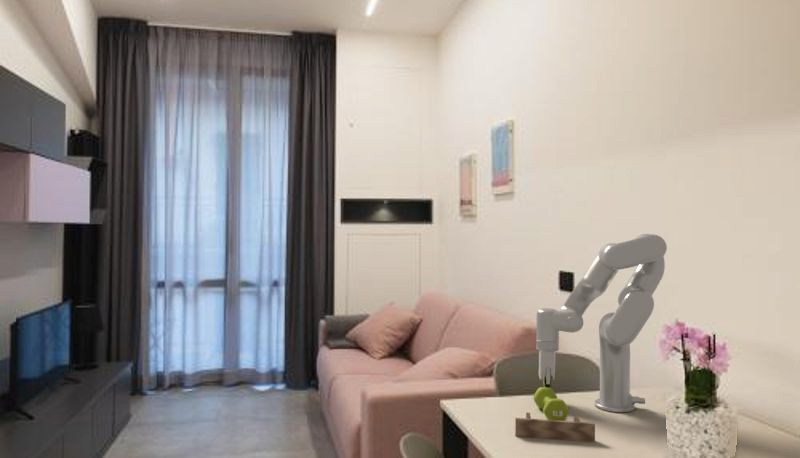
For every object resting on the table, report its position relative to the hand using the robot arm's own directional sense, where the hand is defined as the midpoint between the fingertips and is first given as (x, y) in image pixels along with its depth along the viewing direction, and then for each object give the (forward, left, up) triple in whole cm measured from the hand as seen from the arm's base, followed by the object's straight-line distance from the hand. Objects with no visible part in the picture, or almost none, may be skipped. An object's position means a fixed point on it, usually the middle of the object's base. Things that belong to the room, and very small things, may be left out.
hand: (547, 398), depth 198 cm
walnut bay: (0, +28, -2) cm, 28 cm away
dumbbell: (0, +13, -2) cm, 13 cm away
